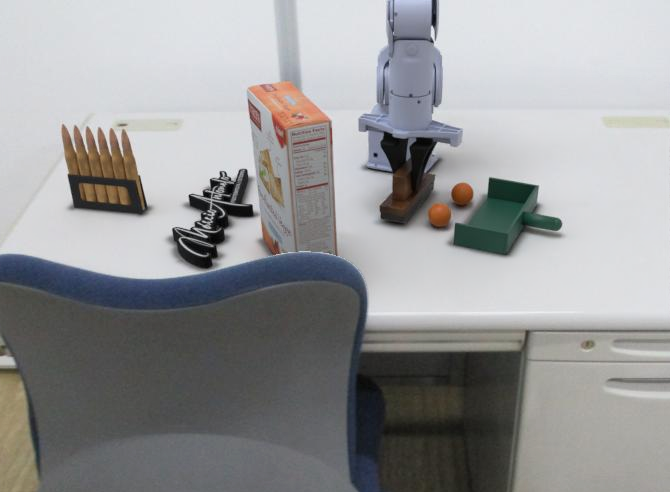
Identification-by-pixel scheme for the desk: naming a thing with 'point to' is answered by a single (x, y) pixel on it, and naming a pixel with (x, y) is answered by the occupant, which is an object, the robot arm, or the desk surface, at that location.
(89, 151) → the ammunition clip
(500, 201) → the dustpan
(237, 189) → the nameplate
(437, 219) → the small orange ball
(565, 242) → the desk surface
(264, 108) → the cracker box
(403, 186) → the brush
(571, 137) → the desk surface
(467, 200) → the orange ball
